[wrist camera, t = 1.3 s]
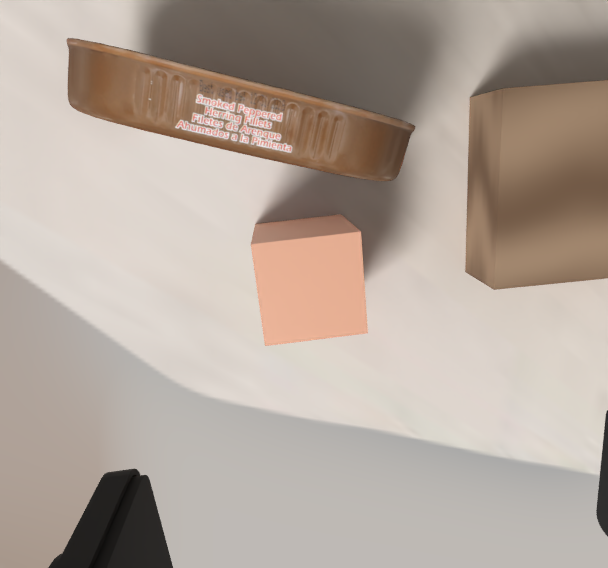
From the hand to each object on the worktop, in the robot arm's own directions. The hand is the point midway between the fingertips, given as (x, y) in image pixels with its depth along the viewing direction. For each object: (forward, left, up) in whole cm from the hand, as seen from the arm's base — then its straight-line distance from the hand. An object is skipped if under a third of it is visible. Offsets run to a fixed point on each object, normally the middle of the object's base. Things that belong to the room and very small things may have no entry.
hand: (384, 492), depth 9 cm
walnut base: (-3, +15, -19) cm, 24 cm away
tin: (-8, -2, -19) cm, 21 cm away
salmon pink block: (0, 0, -18) cm, 19 cm away
